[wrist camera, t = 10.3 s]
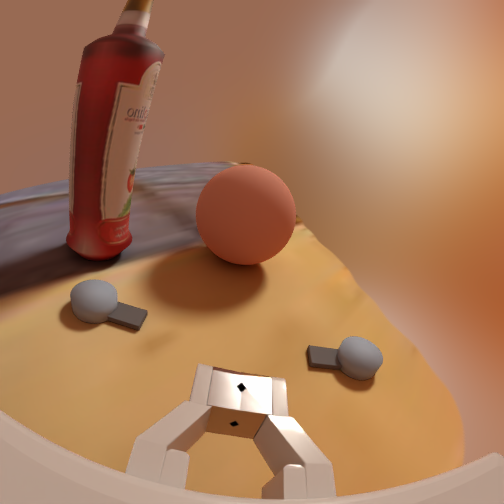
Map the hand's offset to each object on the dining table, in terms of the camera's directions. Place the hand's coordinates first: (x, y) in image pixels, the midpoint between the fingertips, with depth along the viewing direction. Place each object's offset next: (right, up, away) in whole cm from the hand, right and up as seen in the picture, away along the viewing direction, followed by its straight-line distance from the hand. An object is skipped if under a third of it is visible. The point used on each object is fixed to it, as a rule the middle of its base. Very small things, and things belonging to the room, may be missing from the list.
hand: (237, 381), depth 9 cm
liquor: (-15, +5, +16) cm, 22 cm away
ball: (0, +8, +19) cm, 21 cm away
